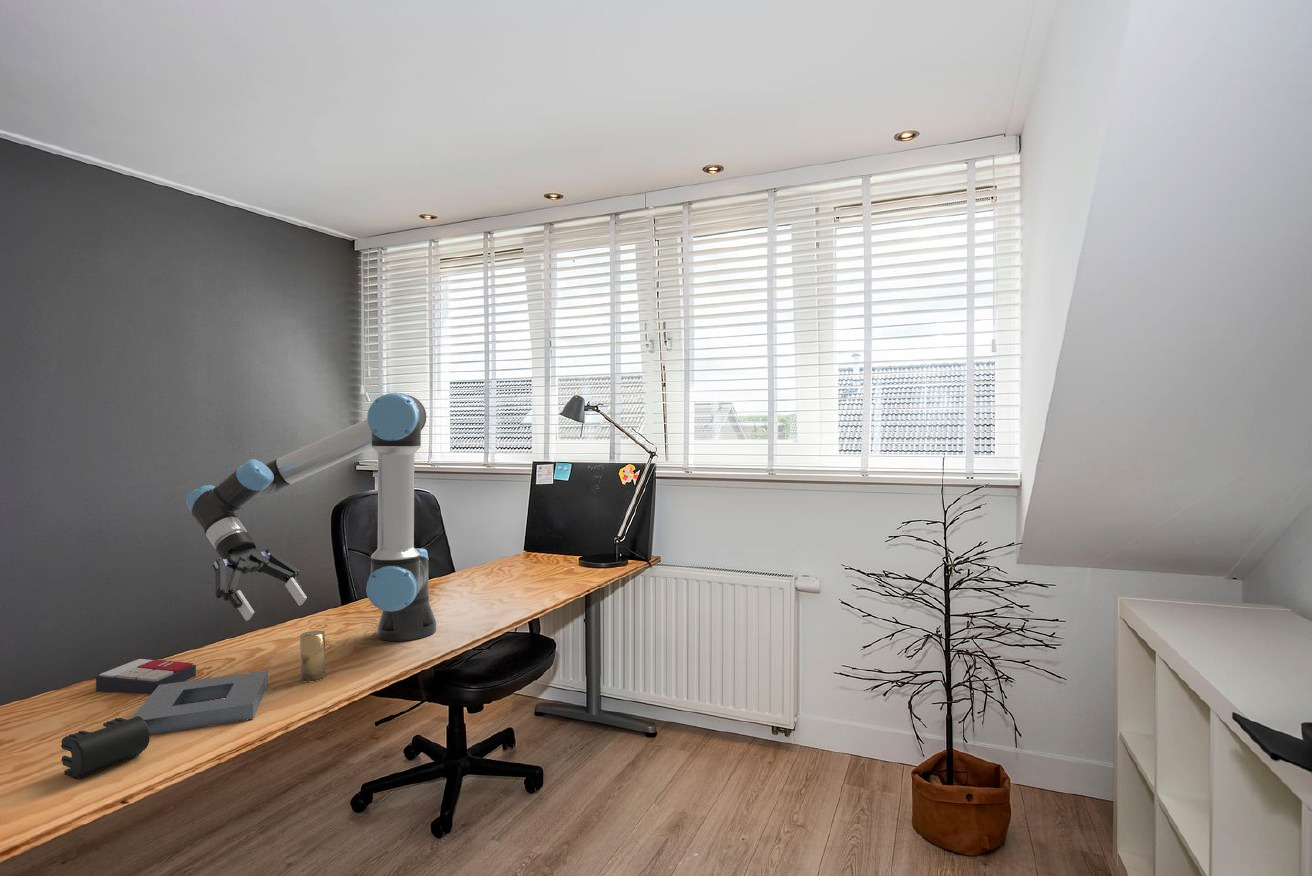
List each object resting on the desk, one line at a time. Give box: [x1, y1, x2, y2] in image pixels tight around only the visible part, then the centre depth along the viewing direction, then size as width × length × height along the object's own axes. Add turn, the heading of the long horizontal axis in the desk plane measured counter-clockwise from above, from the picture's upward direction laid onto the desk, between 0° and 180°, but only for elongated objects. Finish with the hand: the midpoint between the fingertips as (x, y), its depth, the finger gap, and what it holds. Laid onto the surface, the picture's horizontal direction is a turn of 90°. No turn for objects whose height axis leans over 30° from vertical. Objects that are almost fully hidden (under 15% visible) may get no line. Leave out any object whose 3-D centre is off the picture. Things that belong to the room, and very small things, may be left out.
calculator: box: [95, 658, 197, 695], centre depth 154 cm, size 11×4×15 cm
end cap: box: [60, 716, 151, 780], centre depth 116 cm, size 10×7×7 cm
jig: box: [131, 670, 269, 736], centre depth 140 cm, size 20×20×3 cm
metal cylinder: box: [299, 630, 327, 683], centre depth 156 cm, size 5×5×10 cm
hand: (277, 609), depth 160 cm, fingers open, 13 cm apart
